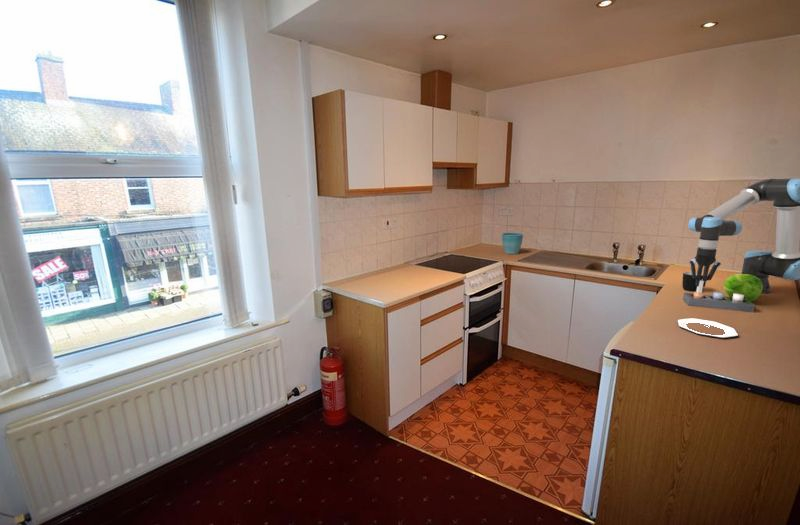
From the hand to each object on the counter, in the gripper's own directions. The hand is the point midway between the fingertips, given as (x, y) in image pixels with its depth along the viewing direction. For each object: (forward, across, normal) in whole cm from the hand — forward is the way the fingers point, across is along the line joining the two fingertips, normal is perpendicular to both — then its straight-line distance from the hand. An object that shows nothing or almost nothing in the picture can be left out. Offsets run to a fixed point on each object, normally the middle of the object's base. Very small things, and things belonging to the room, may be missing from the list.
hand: (698, 292), depth 191 cm
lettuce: (+6, -23, -16) cm, 29 cm away
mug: (+6, -4, -29) cm, 30 cm away
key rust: (+4, 0, 0) cm, 4 cm away
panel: (+6, -8, 0) cm, 10 cm away
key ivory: (+3, -16, 0) cm, 16 cm away
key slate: (+3, -8, 0) cm, 9 cm away
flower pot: (+7, +107, -102) cm, 148 cm away
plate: (+7, +7, +39) cm, 40 cm away
